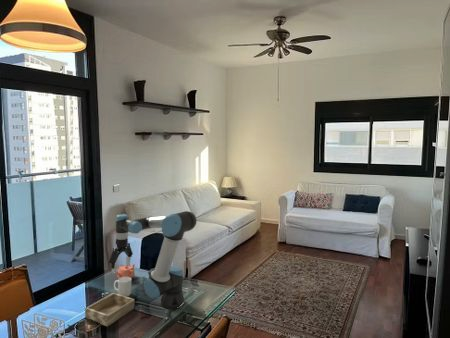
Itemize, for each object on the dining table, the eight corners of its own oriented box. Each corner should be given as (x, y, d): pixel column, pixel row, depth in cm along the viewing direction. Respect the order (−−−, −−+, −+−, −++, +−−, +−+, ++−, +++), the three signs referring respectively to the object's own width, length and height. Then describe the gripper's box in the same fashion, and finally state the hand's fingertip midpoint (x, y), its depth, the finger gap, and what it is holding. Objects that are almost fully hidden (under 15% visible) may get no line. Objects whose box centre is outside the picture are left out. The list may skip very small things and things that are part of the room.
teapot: (132, 283, 232) (133, 269, 231) (115, 283, 230) (116, 269, 229) (135, 275, 246) (135, 262, 245) (119, 275, 244) (119, 262, 243)
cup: (127, 297, 210) (127, 282, 209) (110, 295, 212) (110, 280, 211) (133, 292, 218) (133, 277, 218) (116, 289, 220) (116, 275, 219)
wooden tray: (134, 308, 197) (134, 299, 197) (107, 326, 177) (108, 316, 177) (112, 301, 204) (113, 292, 204) (85, 318, 184) (85, 308, 184)
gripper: (129, 232, 225) (129, 262, 226) (103, 242, 202) (102, 275, 203) (138, 234, 222) (137, 264, 224) (112, 244, 199) (112, 277, 201)
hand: (121, 269), depth 214 cm, fingers open, 13 cm apart
